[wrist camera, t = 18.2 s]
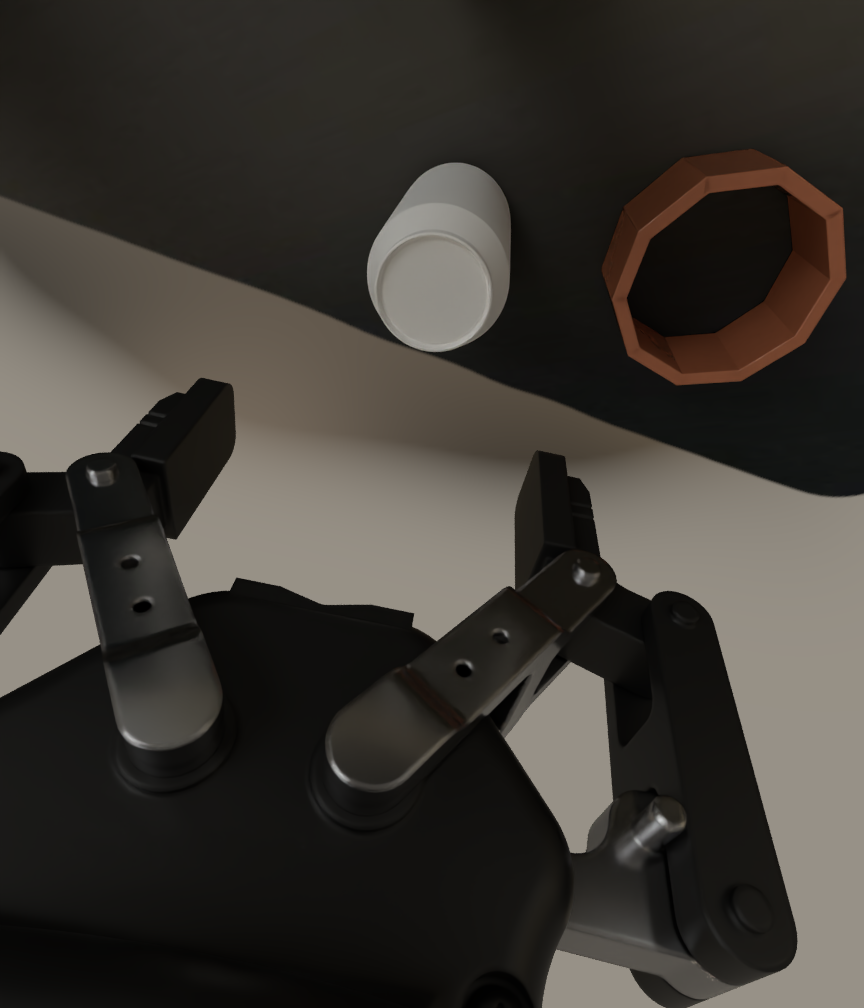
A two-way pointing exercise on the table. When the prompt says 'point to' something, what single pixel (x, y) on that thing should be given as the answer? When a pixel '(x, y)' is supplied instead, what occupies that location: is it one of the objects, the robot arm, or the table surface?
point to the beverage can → (443, 259)
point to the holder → (766, 326)
